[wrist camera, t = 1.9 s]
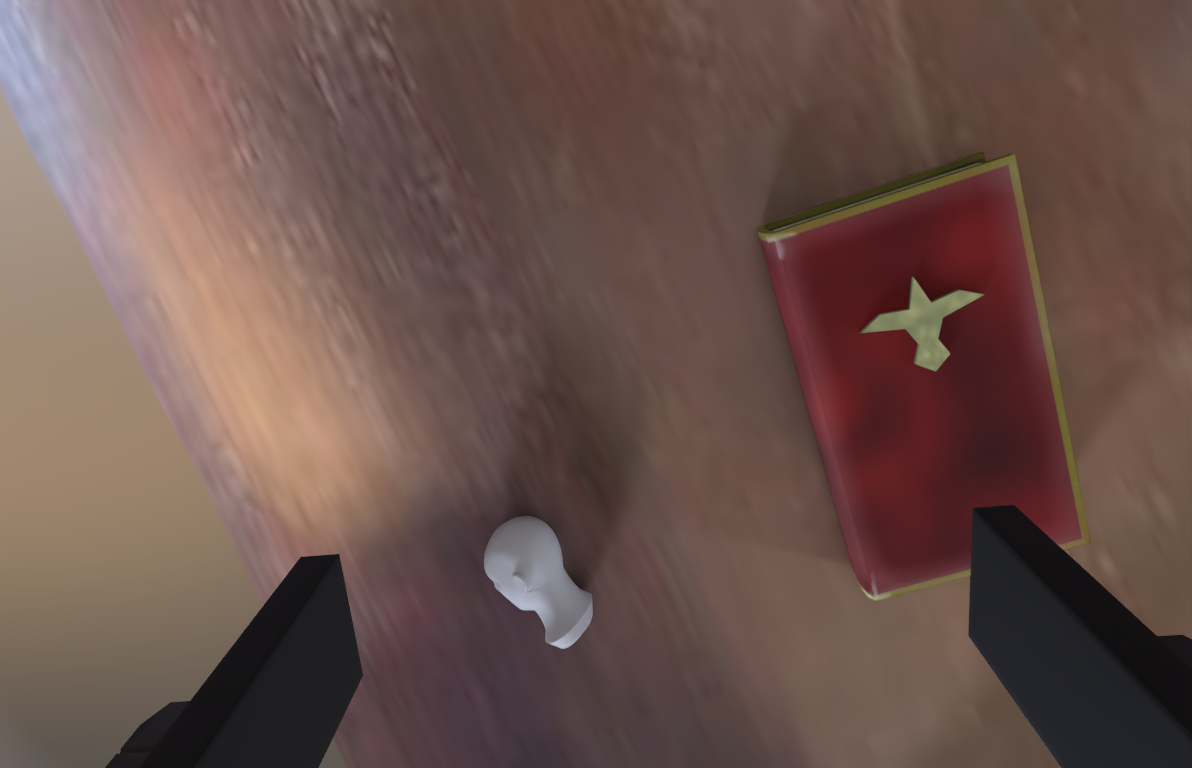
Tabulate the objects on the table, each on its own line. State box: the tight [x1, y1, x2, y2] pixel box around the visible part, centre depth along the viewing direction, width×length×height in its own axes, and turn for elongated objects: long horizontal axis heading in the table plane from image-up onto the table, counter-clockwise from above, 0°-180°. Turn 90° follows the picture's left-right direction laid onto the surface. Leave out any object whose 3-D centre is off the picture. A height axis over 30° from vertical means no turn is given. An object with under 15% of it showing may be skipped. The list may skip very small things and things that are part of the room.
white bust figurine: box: [484, 516, 593, 649], centre depth 48 cm, size 4×8×5 cm
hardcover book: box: [757, 152, 1091, 602], centre depth 44 cm, size 12×21×4 cm, turn 19°
